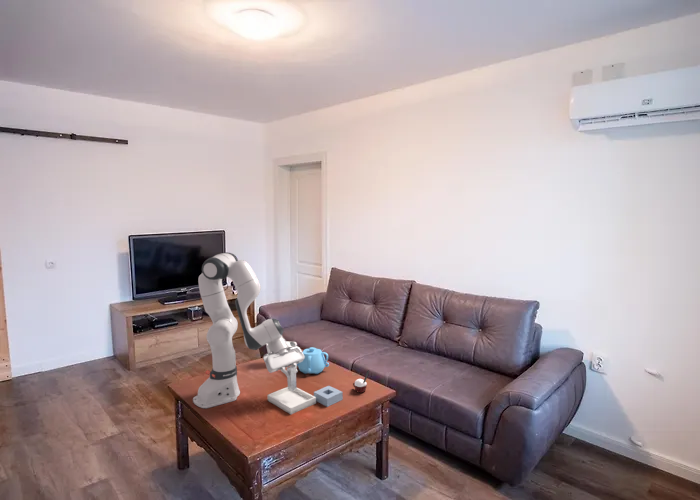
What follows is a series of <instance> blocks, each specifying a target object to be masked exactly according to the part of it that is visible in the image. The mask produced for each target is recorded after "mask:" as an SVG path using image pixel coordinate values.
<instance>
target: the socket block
mask: <svg viewBox="0 0 700 500" xmlns="http://www.w3.org/2000/svg"><path fill="white" fill-rule="evenodd" d="M313 396H314V397H316V403H318V404H319V403H320V405H323V406H324V407H330V406H331V405H334V404H336V403H338V402H341V401H343V399H344V397H343V391H341V390H339V389H338V388H335V387H332V386H330V385H327V386H324V387H322V388H320V389H318V390H315V391H313Z"/></svg>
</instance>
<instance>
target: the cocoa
mask: <svg viewBox="0 0 700 500" xmlns="http://www.w3.org/2000/svg"><path fill="white" fill-rule="evenodd" d="M369 373H370V369H368V370H367V371H366V373H365V376H364V379H362V378H358V379H356V380H355V381H354V382H353V383H352V386H353V387H354V389H355V391H356V392H357V393H364V392H366V389H367V385H368V383H367V382H366V381H367V378H368V375H369Z"/></svg>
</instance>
